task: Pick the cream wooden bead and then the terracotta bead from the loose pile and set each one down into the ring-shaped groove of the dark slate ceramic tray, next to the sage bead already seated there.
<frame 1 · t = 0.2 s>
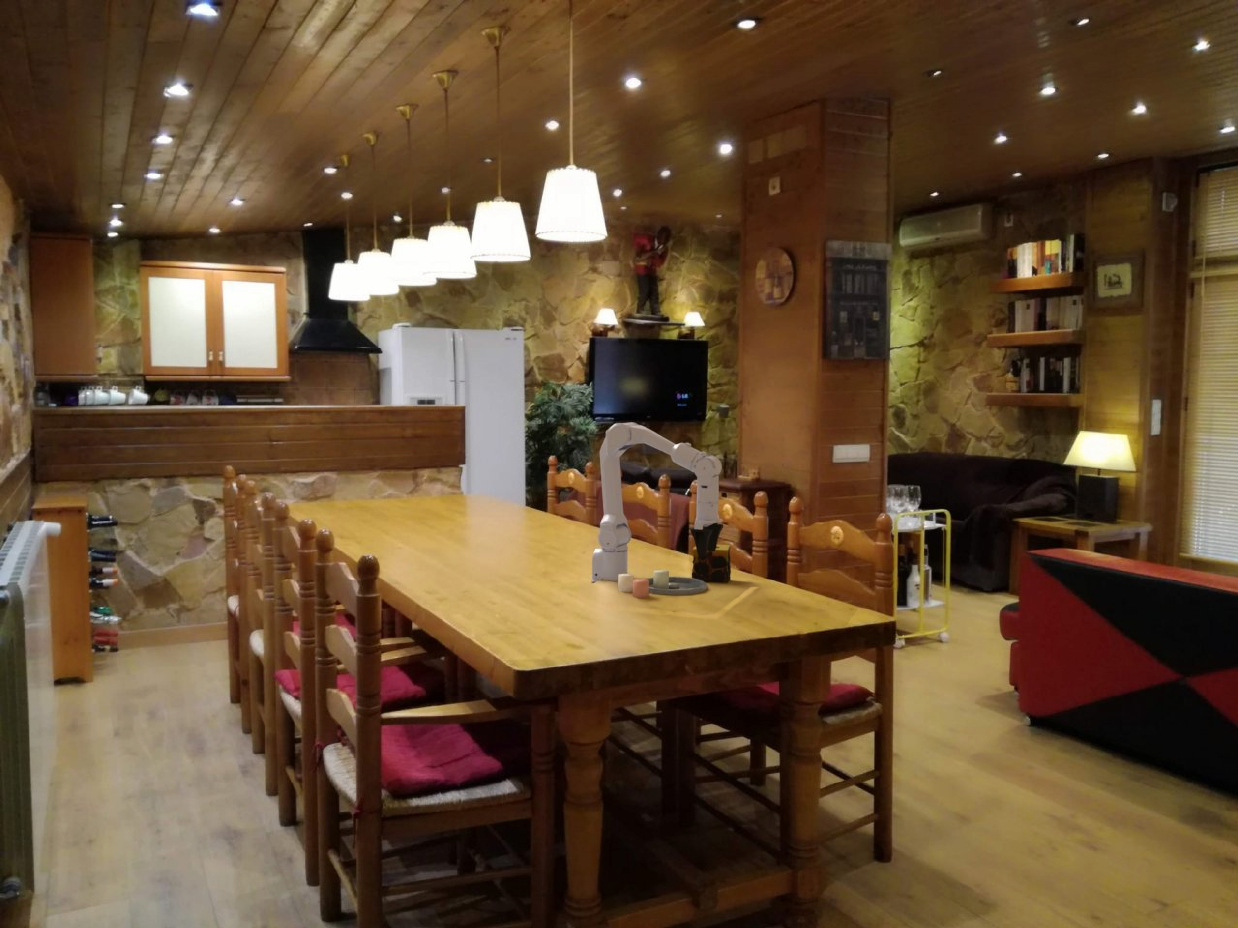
hand: (706, 553, 251), 10 cm above the table, fingers open, 7 cm apart
candle: (711, 583, 263), on the table
groove tray: (672, 591, 250), on the table
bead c: (661, 590, 247), point 1 cm above the table, touching groove tray
bead b: (640, 600, 240), on the table
bead a: (625, 594, 247), on the table
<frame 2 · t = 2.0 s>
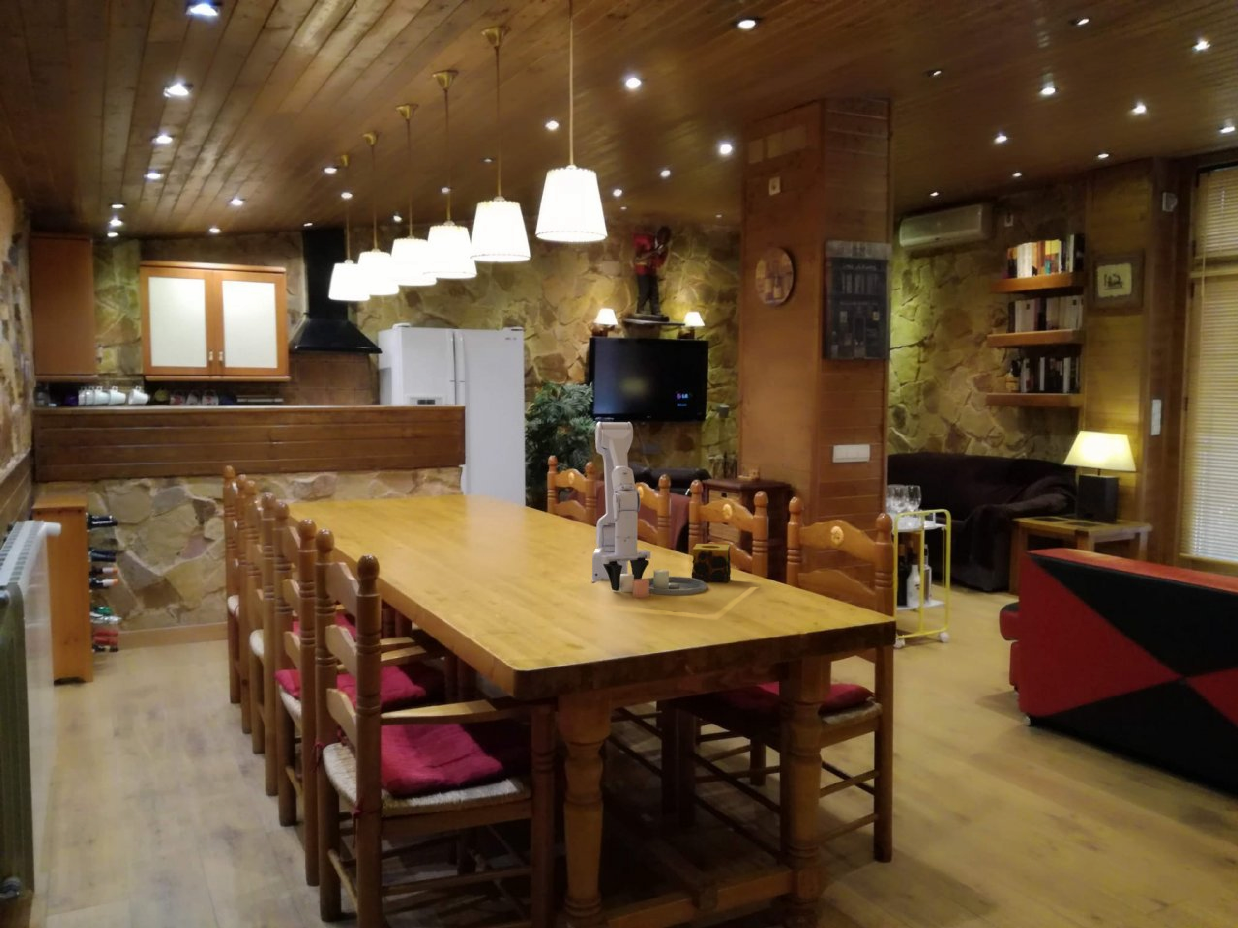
hand: (626, 588, 246), 1 cm above the table, fingers open, 6 cm apart
nothing on the table moved.
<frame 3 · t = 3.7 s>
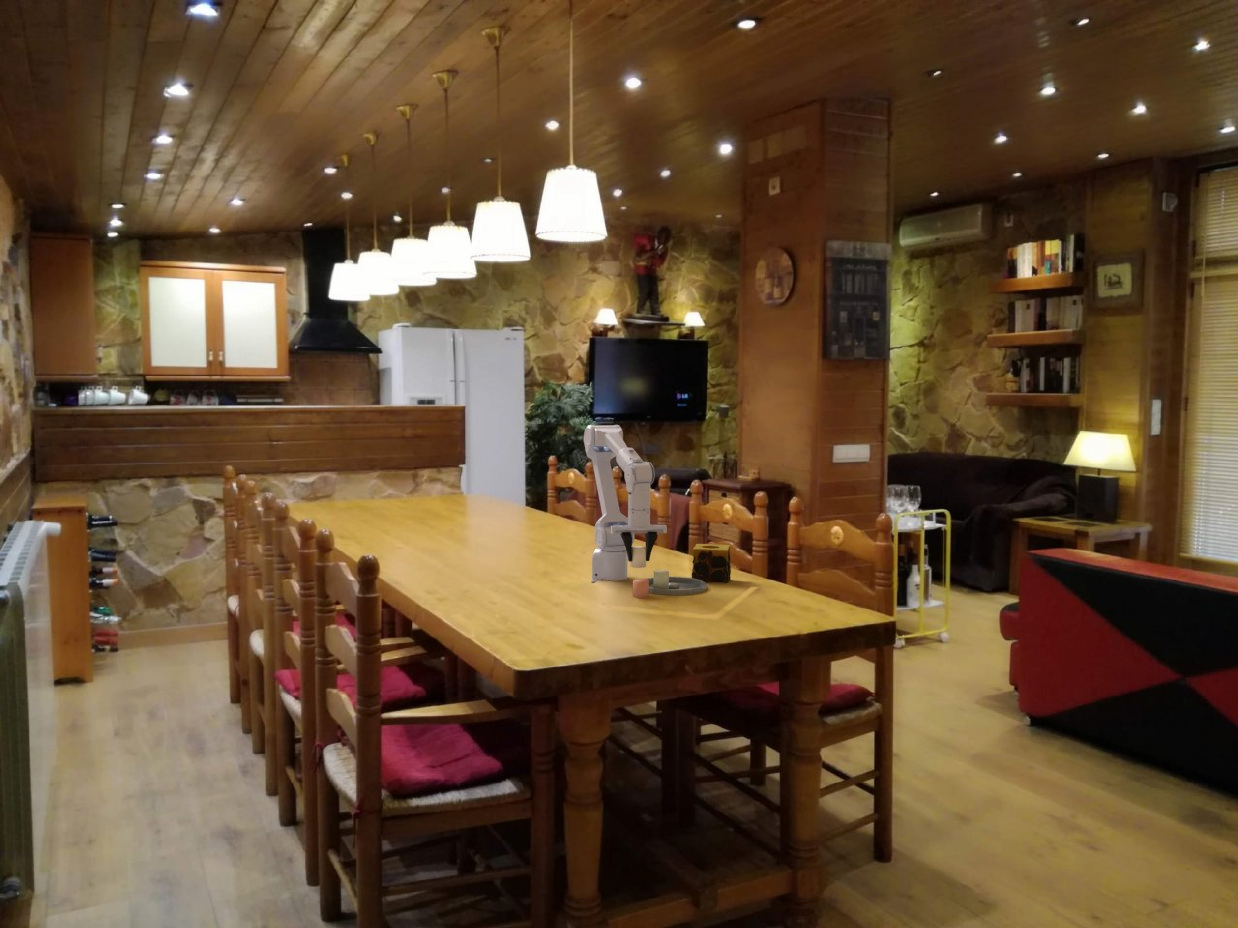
hand: (638, 560, 248), 8 cm above the table, fingers closed on bead a, 4 cm apart
bead a: (638, 566, 248), point 7 cm above the table, touching gripper
everything else where it was.
when the fingers open (4 cm above the table, at t = 5.2 s): bead a drops 1 cm, resting on groove tray.
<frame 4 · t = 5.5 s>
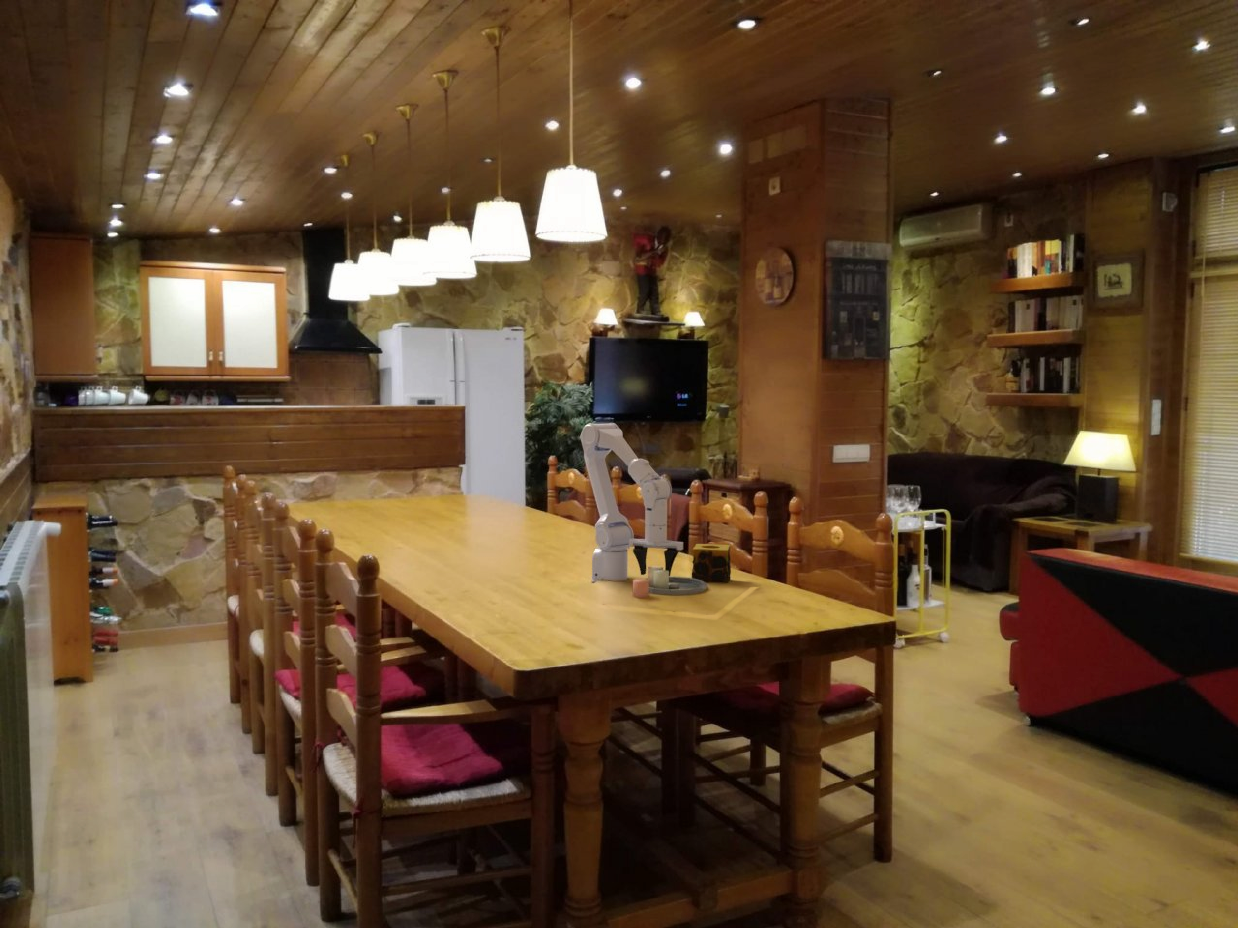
hand: (655, 575, 252), 4 cm above the table, fingers open, 6 cm apart
bead a: (655, 586, 252), point 1 cm above the table, touching groove tray
everything else where it was.
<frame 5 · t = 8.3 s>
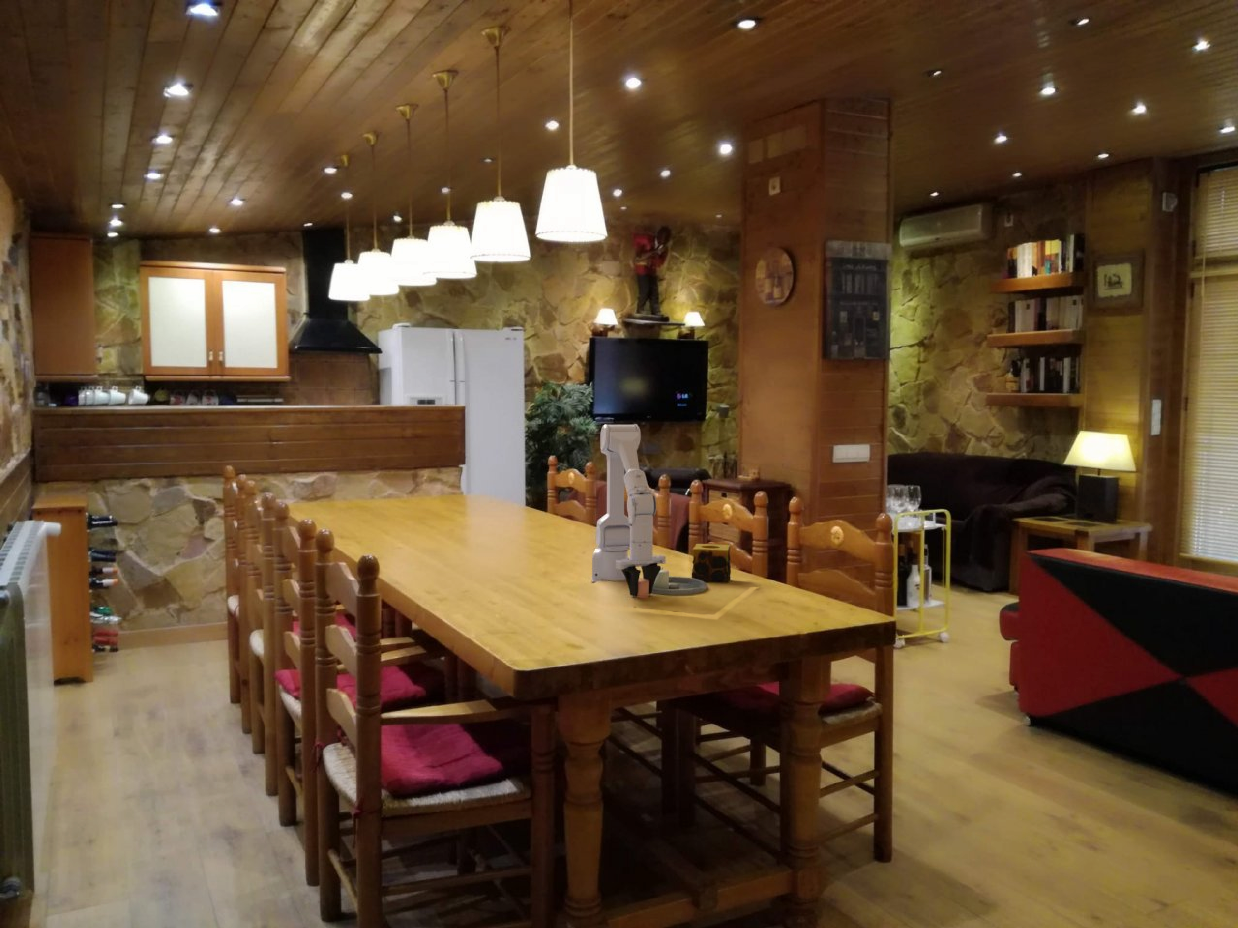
hand: (640, 594, 240), 1 cm above the table, fingers closed on bead b, 4 cm apart
bead b: (640, 600, 240), on the table, touching gripper
everything else where it was.
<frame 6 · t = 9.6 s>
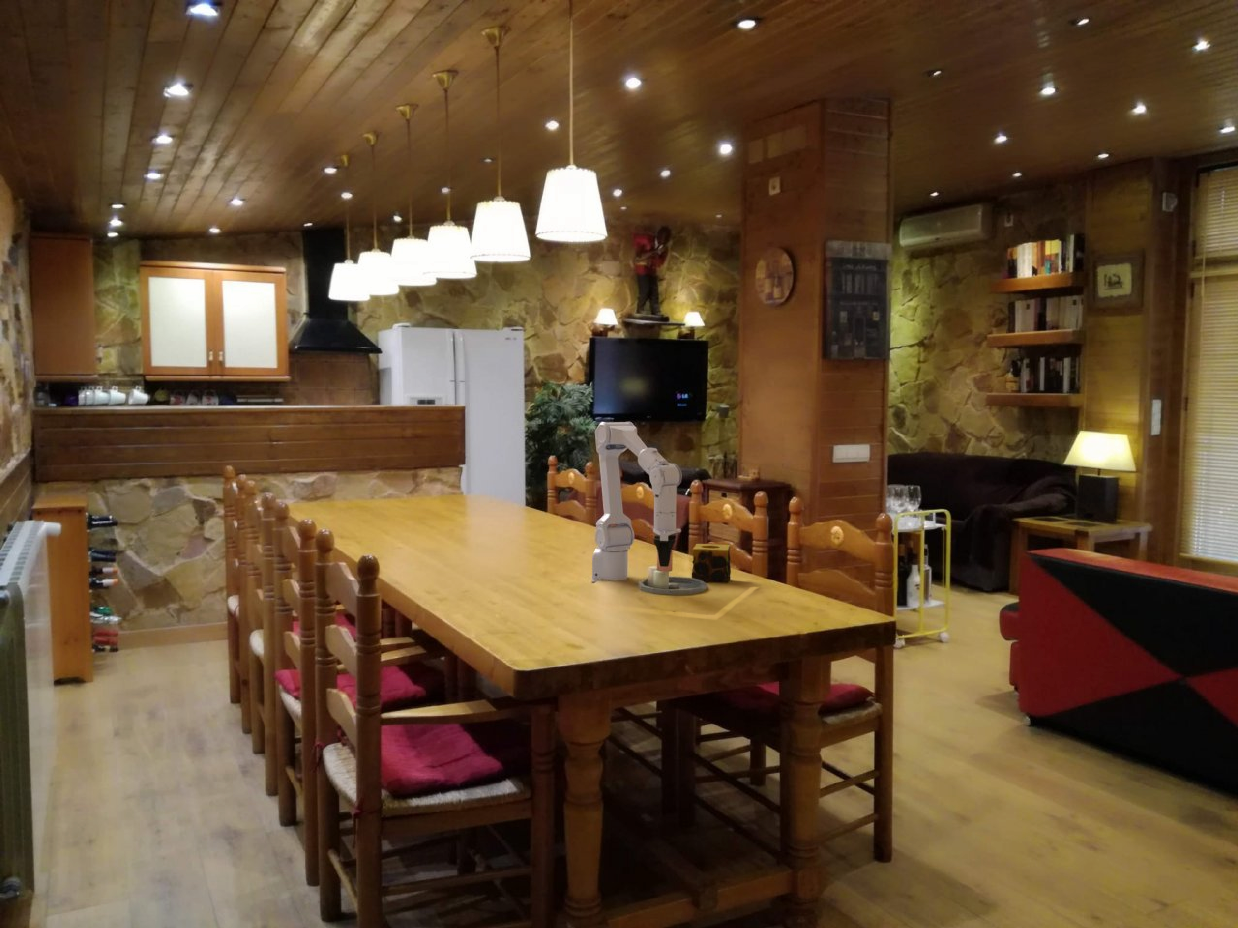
hand: (664, 564, 243), 8 cm above the table, fingers closed on bead b, 4 cm apart
bead b: (664, 570, 243), point 7 cm above the table, touching gripper
everything else where it was.
when the fingers open (4 cm above the table, at t = 11.1 s): bead b drops 1 cm, resting on groove tray.
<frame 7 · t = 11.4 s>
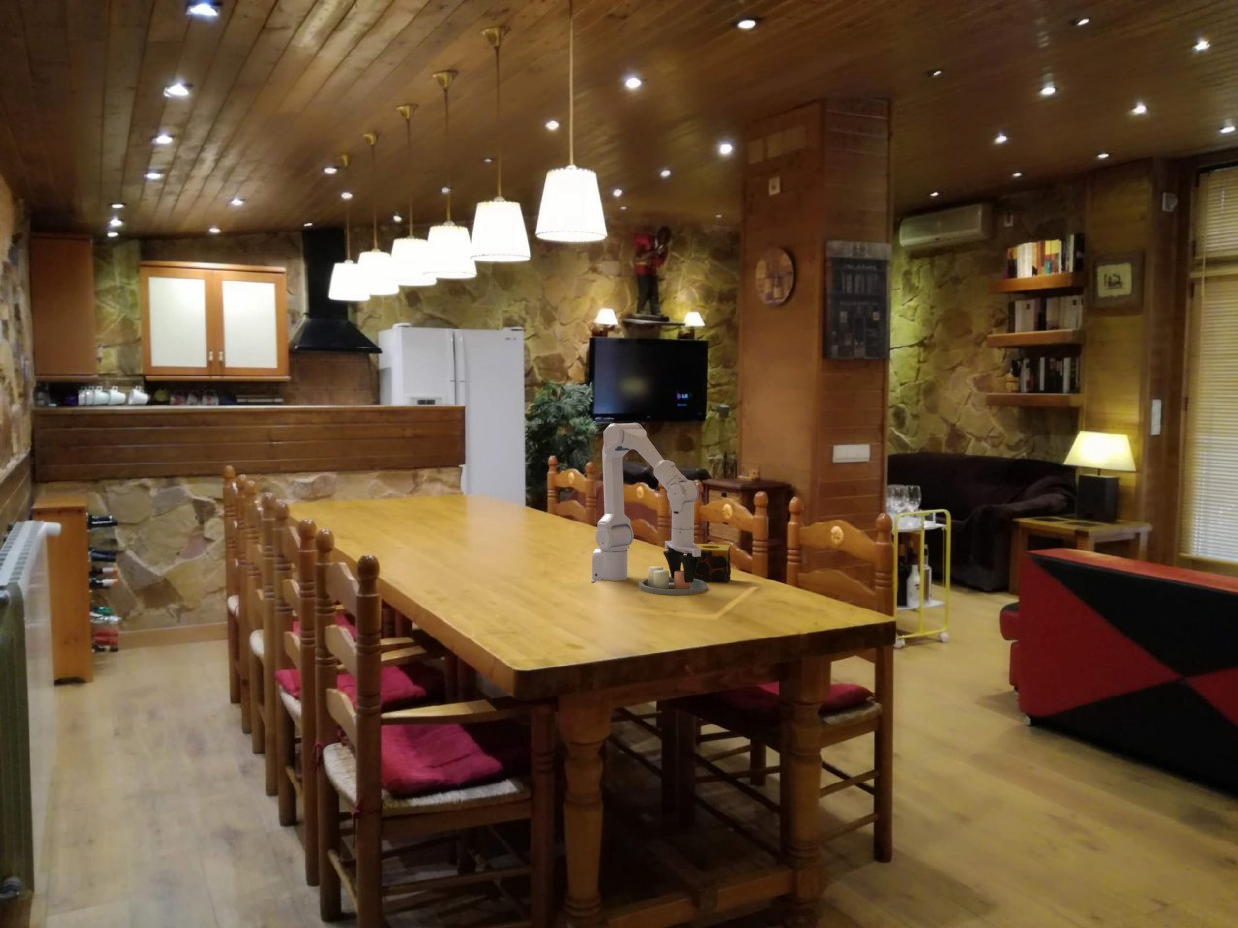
hand: (682, 579, 246), 4 cm above the table, fingers open, 6 cm apart
bead b: (682, 591, 246), point 1 cm above the table, touching groove tray
everything else where it was.
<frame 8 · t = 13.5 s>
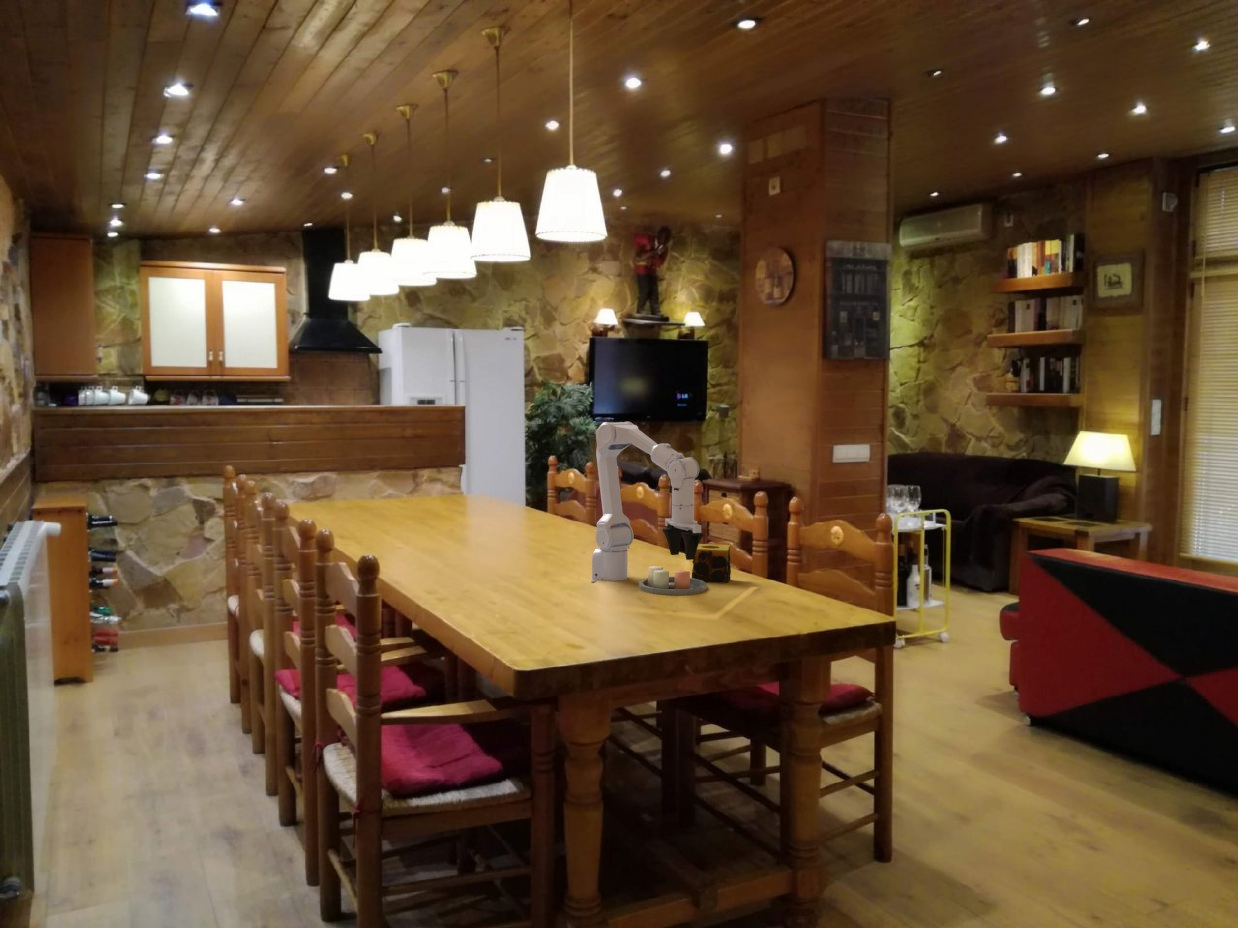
hand: (682, 557, 245), 10 cm above the table, fingers open, 7 cm apart
nothing on the table moved.
at the end: bead a inside the target area on the groove tray (4.7 cm from its centre), point 1.0 cm above the groove tray's base; bead b inside the target area on the groove tray (4.8 cm from its centre), point 1.0 cm above the groove tray's base; bead a tilted 0° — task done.
